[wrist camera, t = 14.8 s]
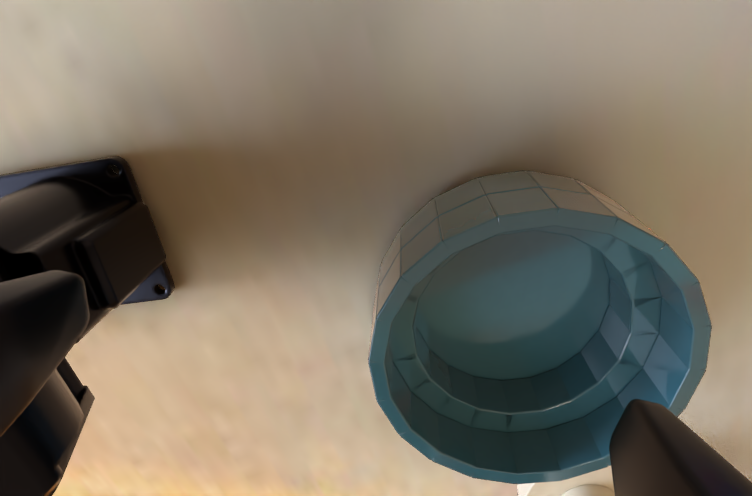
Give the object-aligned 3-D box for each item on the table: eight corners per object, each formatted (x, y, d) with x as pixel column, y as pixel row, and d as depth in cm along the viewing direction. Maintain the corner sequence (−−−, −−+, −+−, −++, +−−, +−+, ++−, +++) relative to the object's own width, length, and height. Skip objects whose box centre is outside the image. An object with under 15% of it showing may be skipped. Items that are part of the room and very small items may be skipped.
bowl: (397, 407, 25) (395, 493, 20) (355, 190, 20) (341, 237, 15) (636, 385, 23) (693, 471, 19) (651, 146, 19) (731, 184, 14)
